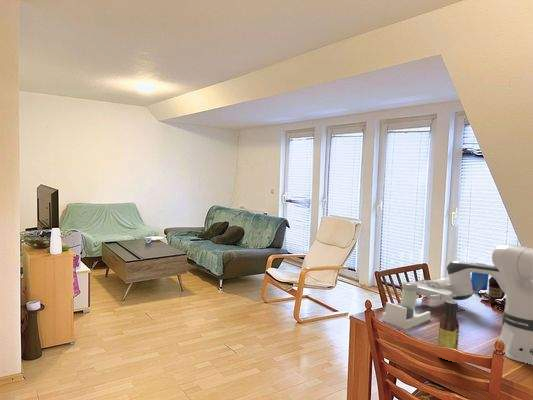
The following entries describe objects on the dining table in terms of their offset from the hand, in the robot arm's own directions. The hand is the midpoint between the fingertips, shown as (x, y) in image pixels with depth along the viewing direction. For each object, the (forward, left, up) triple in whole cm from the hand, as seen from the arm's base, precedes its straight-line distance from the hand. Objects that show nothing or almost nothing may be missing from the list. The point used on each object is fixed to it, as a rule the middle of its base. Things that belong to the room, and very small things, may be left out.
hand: (422, 294), depth 181 cm
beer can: (-3, -61, -8) cm, 61 cm away
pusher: (-2, +21, -7) cm, 22 cm away
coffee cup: (-16, -49, -8) cm, 52 cm away
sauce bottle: (-29, +37, -8) cm, 48 cm away
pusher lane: (-2, +16, -8) cm, 18 cm away
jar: (-2, +16, -8) cm, 18 cm away
